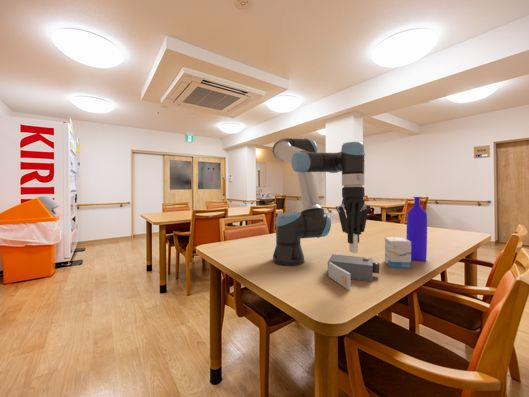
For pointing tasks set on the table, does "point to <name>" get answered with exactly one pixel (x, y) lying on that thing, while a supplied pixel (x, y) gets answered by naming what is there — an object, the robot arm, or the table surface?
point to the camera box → (356, 266)
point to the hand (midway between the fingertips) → (353, 252)
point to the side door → (339, 275)
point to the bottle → (417, 231)
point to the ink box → (398, 252)
